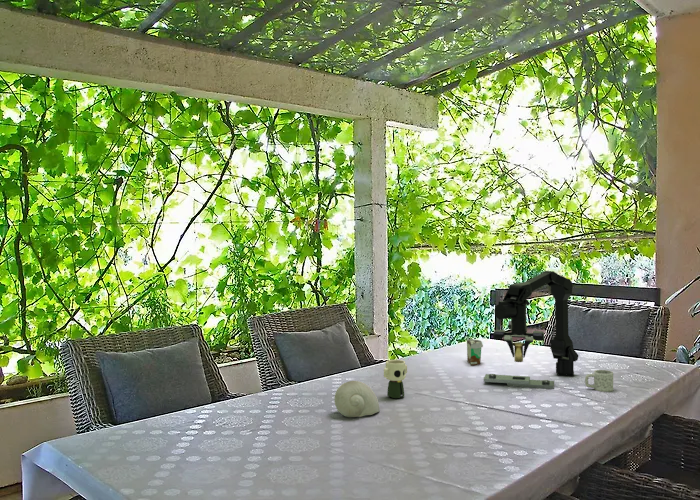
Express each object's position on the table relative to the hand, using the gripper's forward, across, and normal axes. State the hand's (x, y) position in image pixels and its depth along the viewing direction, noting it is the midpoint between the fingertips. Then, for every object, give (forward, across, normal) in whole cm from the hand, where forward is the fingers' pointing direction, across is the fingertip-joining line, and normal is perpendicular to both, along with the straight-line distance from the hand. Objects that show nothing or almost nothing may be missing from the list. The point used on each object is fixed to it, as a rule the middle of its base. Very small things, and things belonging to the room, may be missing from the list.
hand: (518, 357), depth 254 cm
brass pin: (+2, 0, 0) cm, 2 cm away
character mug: (+11, +41, +31) cm, 53 cm away
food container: (+11, +21, -34) cm, 41 cm away
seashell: (+11, +49, +53) cm, 73 cm away
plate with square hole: (+10, 0, 0) cm, 11 cm away
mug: (+11, -29, 0) cm, 31 cm away
